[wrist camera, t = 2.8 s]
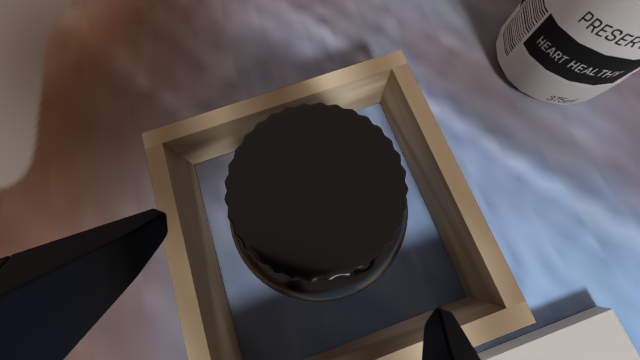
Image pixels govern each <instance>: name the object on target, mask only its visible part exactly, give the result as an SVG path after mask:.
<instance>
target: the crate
mask: <svg viewBox="0 0 640 360" xmlns="http://www.w3.org/2000/svg"><path fill="white" fill-rule="evenodd" d="M319 102H320V103H324V104H326V105H333V104H337V105H339V106H340V107H342V108H344V109H353V110H354V111H356V110H359V109H362V108H365V107H368V106H371V105H374V104H377V103H380V104H381V106H382V108H383V110H384V112H385V115H386V117H387V119H388V121H389V124H390V126H391V128H392V130H393V132H394V135H395V137H396V139H397V141H398V144H399V146H400V148H401V150H402V152H403V155H404V157H405V159H406V161H407V164H408V166H409V168H410V170H411V172H412V175H413V177H414V179H415V181H416V184H417V186H418V188H419V190H420V192H421V195H422V197H423V199H424V201H425V203H426V206H427V208H428V210H429V212H430V215H431V217H432V219H433V221H434V223H435V226H436V228H437V230H438V232H439V235H440V237H441V239H442V241H443V243H444V246H445V248H446V250H447V252H448V255H449V257H450V259H451V261H452V263H453V266H454V268H455V270H456V272H457V274H458V277H459V279H460V281H461V283H462V286H463V288H464V290H465V292H466V294H467V297H465V298H462V299H459V300H457V301H454V302H452V303H449V304H446V305H444V306H441V307H440V308H443V309H446V310H449V311H451V312H452V313H453V314H454V316H455V318H456V319H457V321H458V323H459V324H460V326H461V328H462V329H463V331H464V333H465V334H466V336H467V338H468V339H469V341H470V342H471V344H472V346H473V347H475V346H478V345H481V344H483V343H486V342H488V341H491V340H493V339H496V338H498V337H501V336H503V335H506V334H508V333H511V332H513V331H516V330H518V329H521V328H523V327H526V326H528V325H531V324H533V323H536V321H535V319H534V317H533V315H532V313H531V311H530V309H529V306H528V304H527V302H526V300H525V298H524V296H523V294H522V292H521V290H520V288H519V286H518V284H517V282H516V280H515V278H514V276H513V274H512V272H511V270H510V268H509V266H508V264H507V262H506V260H505V258H504V256H503V254H502V252H501V250H500V248H499V246H498V244H497V242H496V240H495V238H494V236H493V234H492V232H491V230H490V228H489V226H488V224H487V222H486V220H485V218H484V216H483V214H482V212H481V210H480V208H479V206H478V204H477V202H476V200H475V198H474V196H473V194H472V192H471V190H470V188H469V186H468V184H467V182H466V180H465V178H464V176H463V174H462V172H461V170H460V168H459V166H458V164H457V162H456V160H455V158H454V156H453V154H452V152H451V150H450V148H449V146H448V144H447V142H446V140H445V138H444V136H443V134H442V132H441V130H440V128H439V126H438V124H437V122H436V120H435V118H434V116H433V113H432V111H431V109H430V107H429V105H428V103H427V101H426V99H425V97H424V95H423V93H422V91H421V89H420V87H419V85H418V83H417V81H416V79H415V77H414V75H413V73H412V71H411V69H410V67H409V65H408V63H407V61H406V59H405V57H404V55H403V53H402V51H401V50H398V51H395V52H392V53H389V54H386V55H383V56H380V57H377V58H374V59H370V60H367V61H364V62H361V63H358V64H355V65H352V66H349V67H346V68H342V69H339V70H336V71H333V72H330V73H327V74H324V75H321V76H318V77H315V78H311V79H308V80H305V81H302V82H299V83H296V84H293V85H290V86H287V87H284V88H280V89H277V90H274V91H271V92H268V93H265V94H262V95H259V96H256V97H252V98H249V99H246V100H243V101H240V102H237V103H234V104H231V105H228V106H225V107H221V108H218V109H215V110H212V111H209V112H206V113H203V114H200V115H197V116H193V117H190V118H187V119H184V120H181V121H178V122H175V123H172V124H169V125H166V126H162V127H159V128H156V129H153V130H150V131H147V132H144V133H142V138H143V143H144V148H145V153H146V157H147V162H148V167H149V172H150V177H151V182H152V186H153V191H154V196H155V201H156V206H157V210H160V211H163V212H165V213H166V215H167V224H168V233H167V236H166V238H165V239H164V244H165V249H166V254H167V259H168V264H169V269H170V273H171V278H172V283H173V288H174V293H175V298H176V302H177V307H178V312H179V317H180V322H181V327H182V331H183V336H184V341H185V346H186V351H187V356H188V360H242V356H241V352H240V348H239V344H238V340H237V336H236V332H235V328H234V324H233V320H232V316H231V312H230V308H229V304H228V300H227V296H226V292H225V288H224V284H223V280H222V276H221V272H220V268H219V264H218V260H217V256H216V252H215V248H214V244H213V240H212V236H211V232H210V228H209V224H208V220H207V216H206V212H205V208H204V204H203V200H202V196H201V192H200V188H199V184H198V180H197V176H196V172H195V168H194V164H197V163H200V162H203V161H206V160H209V159H212V158H215V157H218V156H221V155H224V154H227V153H230V152H233V151H235V149H236V148H237V147H238V146H240V145H241V144H242V143H243V139H244V137H245V135H246V134H248V133H250V132H251V131H253V129H254V128H255V126H256V124H257V123H259V122H261V121H264V120H266V119H267V118H268V117H269V116H270V115H271V114H273V113H279V112H281V111H282V110H283V109H285V108H286V107H296V106H298V105H300V104H302V103H305V104H310V105H312V104H315V103H319ZM434 310H435V309H433V310H431V311H428V312H426V313H423V314H420V315H418V316H415V317H413V318H410V319H407V320H405V321H402V322H400V323H397V324H394V325H392V326H389V327H387V328H384V329H381V330H379V331H376V332H374V333H371V334H368V335H366V336H363V337H361V338H358V339H355V340H353V341H350V342H348V343H345V344H342V345H340V346H337V347H335V348H332V349H329V350H327V351H324V352H322V353H319V354H316V355H314V356H311V357H309V358H306V359H303V360H422V350H423V336H424V326H425V323H426V321H427V320H428V318H429V317H430V316H431V314H432V313H433V311H434Z"/></svg>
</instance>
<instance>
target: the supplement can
mask: <svg viewBox="0 0 640 360" xmlns="http://www.w3.org/2000/svg"><path fill="white" fill-rule="evenodd" d="M496 49H497V58H498V62H499V63H500V66H501V68H502V70H503V72H504V73H505V75H506V77H507V79H508V80H509V81H510V82H511V83H512V84H513V85H514V86H515V87H516V88H517V89H518V90H519V91H521V92H523V93H525V94H527V95H529V96H531V97H533V98H535V99H538V100H540V101H544V102H549V103H555V104H560V105H567V104H575V103H583V102H585V101H587V100H589V99H591V98H593V97H595V96H597V95H599V94H601V93H602V92H604V91H606V90H608V89H609V88H611V87H613V86H614V85H616V84H618V83H619V82H621V81H623V80H625V79H626V78H628V77H630V76H631V75H633V74H635V73H636V72H638V71H640V0H522V1H521V3H520V4H519V5H518V7H517V8H516V9H515V11H514V12H513V13H512V14H511V16H510V17H509V18H508V20H507V21H506V22H505V24H504V25H503V26H502V27H501V30H500V33H499V35H498V38H497V41H496Z"/></svg>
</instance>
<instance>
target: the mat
mask: <svg viewBox="0 0 640 360" xmlns="http://www.w3.org/2000/svg"><path fill="white" fill-rule="evenodd" d="M477 354H478V356H479V357H480V359H481V360H640V357H639V355H638V353H637V352H636V350H635V348H634V346H633V345H632V343H631V341H630V339H629V338H628V336H627V334H626V332H625V330H624V329H623V327H622V325H621V323H620V322H619V320H618V318H617V316H616V315H615V313H614V311H613V309H610V308H604V307H599V306H595V307H593V308H590V309H588V310H585V311H583V312H580V313H578V314H575V315H573V316H570V317H568V318H565V319H563V320H560V321H558V322H555V323H553V324H550V325H548V326H545V327H543V328H540V329H538V330H535V331H532V332H530V333H527V334H525V335H522V336H520V337H517V338H515V339H512V340H510V341H507V342H505V343H502V344H500V345H497V346H495V347H492V348H490V349H487V350H485V351H482V352H480V353H477Z"/></svg>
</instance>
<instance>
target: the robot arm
mask: <svg viewBox="0 0 640 360" xmlns="http://www.w3.org/2000/svg"><path fill="white" fill-rule="evenodd" d="M167 233H168V224H167V215H166V213H165V212H163V211H160V210H157V209H150V210H147V211H144V212H141V213H138V214H135V215H132V216H129V217H126V218H123V219H120V220H117V221H114V222H111V223H107V224H104V225H101V226H98V227H95V228H92V229H89V230H86V231H83V232H80V233H77V234H74V235H71V236H68V237H65V238H62V239H59V240H55V241H52V242H49V243H46V244H43V245H40V246H37V247H34V248H31V249H28V250H25V251H22V252H19V253H16V254H13V255H11V256H6V257H3V258H0V360H63V359H64V358H65V357H66V356H67V355H68V354H69V353H70V352H71V350H72V349H73V348H74V347H75V346H76V345H77V344H78V343H79V341H80V340H81V339H82V338H83V337H84V336H85V335H86V334H87V332H88V331H89V330H90V329H91V328H92V327H93V326H94V325H95V323H96V322H97V321H98V320H99V319H100V318H101V317H102V316H103V314H104V313H105V312H106V311H107V310H108V309H109V308H110V307H111V305H112V304H113V303H114V302H115V301H116V300H117V299H118V298H119V296H120V295H121V294H122V293H123V292H124V291H125V290H126V289H127V287H128V286H129V285H130V284H131V283H132V282H133V281H134V279H135V278H136V277H137V276H138V275H139V273H140V272H141V271H142V269H143V268H144V267H145V265H146V264H147V263H148V261H149V260H150V258H151V257H152V256H153V254H154V253H155V252H156V250H157V249H158V247H159V246H160V245H161V243H162V242H163V241H164V239H165V238H166V236H167ZM422 360H481V359H480V357H479V356H478V354H477V352H476V351H475V349H474V347H473V346H472V344H471V342H470V341H469V339H468V338H467V336H466V334H465V333H464V331H463V329H462V328H461V326H460V324H459V323H458V321H457V319H456V318H455V316H454V314H453V313H452V312H451V311H449V310H446V309H443V308H440V307H437V308H436V309H435V310H434V311H433V313H432V314H431V316H430V317H429V318H428V320H427V321H426V323H425V326H424V336H423V350H422Z"/></svg>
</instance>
